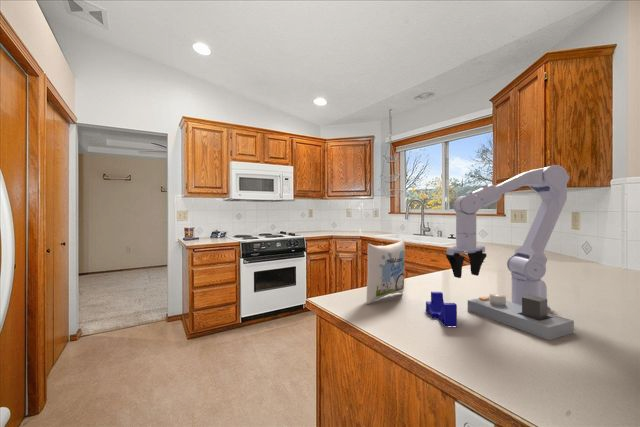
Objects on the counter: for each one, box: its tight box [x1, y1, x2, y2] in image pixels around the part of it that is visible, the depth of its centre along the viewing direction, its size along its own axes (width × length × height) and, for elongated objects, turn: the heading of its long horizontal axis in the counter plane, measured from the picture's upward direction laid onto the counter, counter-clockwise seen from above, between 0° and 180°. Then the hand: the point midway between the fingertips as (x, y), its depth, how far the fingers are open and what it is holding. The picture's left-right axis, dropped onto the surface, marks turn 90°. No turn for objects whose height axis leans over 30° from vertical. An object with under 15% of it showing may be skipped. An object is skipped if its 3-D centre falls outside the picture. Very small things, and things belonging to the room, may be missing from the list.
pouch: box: [366, 239, 406, 305], centre depth 98 cm, size 8×19×20 cm, turn 124°
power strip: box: [467, 292, 575, 341], centre depth 78 cm, size 10×22×6 cm, turn 22°
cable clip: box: [425, 291, 458, 327], centre depth 80 cm, size 12×4×6 cm, turn 175°
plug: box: [522, 295, 548, 321], centre depth 74 cm, size 4×4×7 cm
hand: (466, 276), depth 91 cm, fingers open, 7 cm apart
